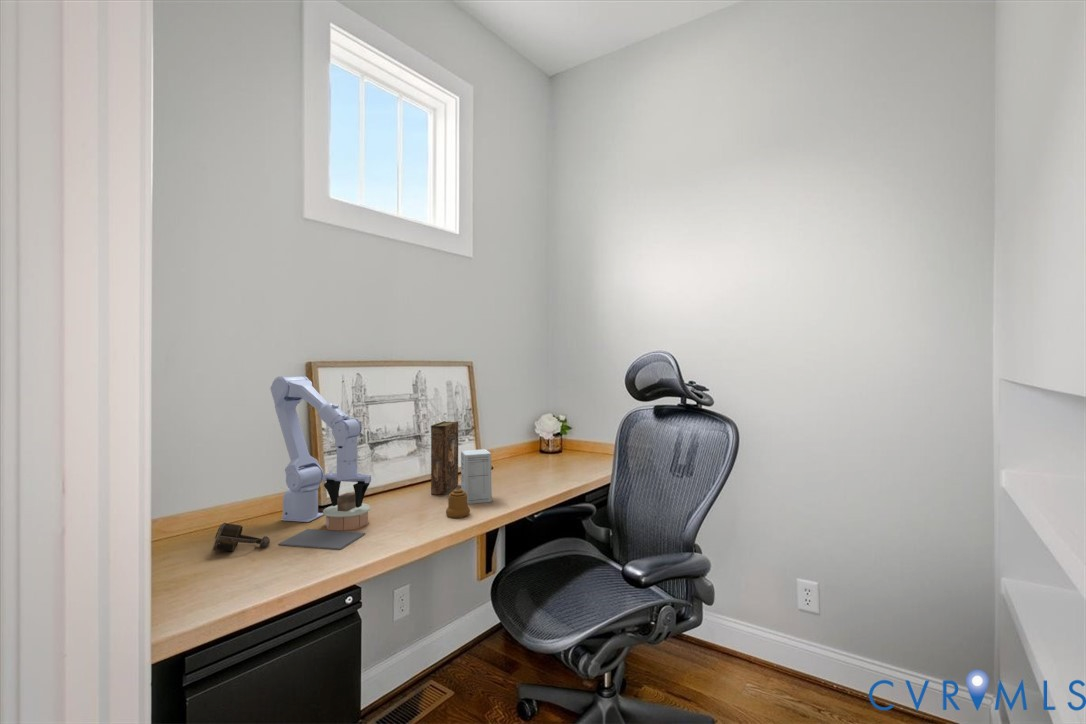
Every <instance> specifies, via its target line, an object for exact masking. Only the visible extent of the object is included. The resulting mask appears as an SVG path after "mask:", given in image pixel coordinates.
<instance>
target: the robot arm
mask: <svg viewBox="0 0 1086 724" xmlns="http://www.w3.org/2000/svg"><path fill="white" fill-rule="evenodd" d="M269 388H270V392H271V395H272V396H271V397H272V399H273V403H274V408H275V413H276V415H277V419H278V420H277V421H278V423H279V426H280V429H281V432H282V436H283V439H284V443H285V445H286V450H287V452H288V456H289V460H290V461H289V463H288V464H287V466H286V467H285V469H284V471H285V484H286V486H287V487H288V489H287V490H286V491H284V493H283V497H282V518H281V519H280V520H281V521H285V522H299V523H300V522H302V523H309V522H311V521H314V520H316V519H318V518H320V517H323V516H325V515H324V514H323V512H319V488H320V486H321V484H322V482H325V483H324V484H323V487H325V489H326V490H325V491H327V493H328V496H329V498H330V502H331V506H336V505H337V497H339V496H340V487H341V482H346V483H348V482H349V483H354V484H353V485H352V486H353V490H354V491H353V492H354V493H355V505H356V508H359V507H360V506H362V503H364V502H363V501H364V497H365V495H366V491H367V489H368V487H369V486H370V483H372V475H370V474H365V473H363V474H362V473H358V437H359V436H360V435H361V433H362V430H363V427H362V424H361V423H362V422H360V421H359V419H358V418H356V417H350V416H349V415H348V414H347V413H345V412H344V411H343V410H342V409H340V407H339V405H338V404H337V403H334V402H330V403H328V401H326V399H325V398H324V397H323V396H322V395H321V394H320V393H319V392H318V391H317V390H316V389H315V387H313V382H312V381H311V380H310V379H309V377H307V376H306V375H305V376H304V375H300V376H277V377H275V378H274V380H273V381H272V384H271V385H270V387H269ZM303 400H304V401H306V403H308V404H309V405H311V406H312V408H314V409H316V411H318V417H319V418H320V419H321V420H322V422H324V423H325V425H327V426H328V427H329V429H331V434H332V436H333V438H334V441H335V442H334V444H335V446H336V472H334V473H330V472H329V473H328V472H326V473H324V470H323V468H322V467H321V466H320V463H319V461H318V459H317V458H315V457H313V456H312V455H310V453H309V449H308V445H307V442H306V439H305V435H304V433H303V429H302V426H301V422H300V420H299V417H298V416H299V415H298V412H297V406H298V405H299V404H300V403H301V402H302V401H303Z"/></svg>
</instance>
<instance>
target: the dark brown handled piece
mask: <svg viewBox="0 0 1086 724" xmlns="http://www.w3.org/2000/svg"><path fill="white" fill-rule="evenodd" d="M242 532H243V525H241V524H233V523H227V522H223V523H222V524H220V525H219V528H218V529H217V532H216V534H215V536H214V538H215V539H214V543H213V546H212V549H211V552H212V551H213V552H215V551H217V550H220V551H221V550H222V551H228V552H234V551H235V550H236V548H237V546H238V545H239V544H240V543H241V544H257V545H259V546H260V548H263V549H264V548H266V547H268V546H269V544H270V543H271V539H270V537H269V536H267V535H265V536H263V537H262V538H259V537H255V536H251V535H245V534H242Z"/></svg>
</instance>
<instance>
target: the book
mask: <svg viewBox="0 0 1086 724" xmlns="http://www.w3.org/2000/svg"><path fill="white" fill-rule="evenodd" d="M430 428H431V429H430V434H431V435H430V443H431V444H430V451H431V452H430V461H431V462H430V495H431V496H446V495H447V494H448V493H451V492H452V490H455V489H456V487H457V486H458V485H459V421H445V420H444V421H440V422H437V423H435V424H432V425H431V426H430Z"/></svg>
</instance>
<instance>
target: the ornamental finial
mask: <svg viewBox="0 0 1086 724" xmlns="http://www.w3.org/2000/svg"><path fill="white" fill-rule="evenodd" d="M447 504H448V507H447V508H446V510H445V514H446V516H447V517H448V518H450V517H451V518H450V519H461V517H463V518H466V517H468V516H469V515H470V512H471V509H470V506H469V504H467V494H466V493H465V492H464V491H463V490H462V489H461V488H454V489H453V491H450V493H449V494H448V503H447Z"/></svg>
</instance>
